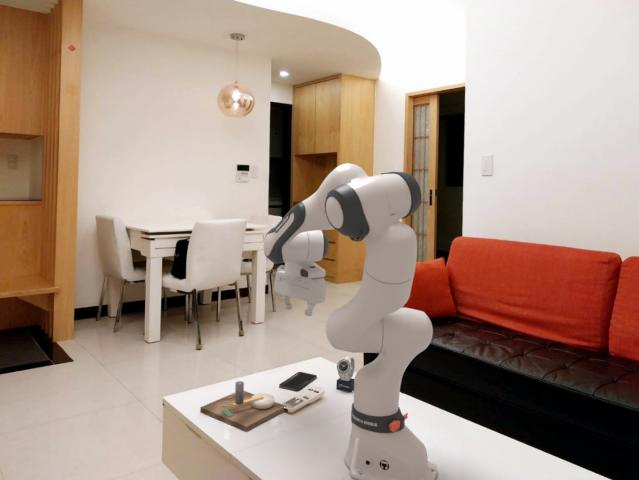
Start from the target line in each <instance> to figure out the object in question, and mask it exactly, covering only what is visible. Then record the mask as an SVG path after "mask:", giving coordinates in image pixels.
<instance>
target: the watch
mask: <svg viewBox="0 0 639 480" xmlns="http://www.w3.org/2000/svg"><path fill="white" fill-rule="evenodd" d="M355 367H356V364H355V358H354V356H353V357H352V356H347V355H345V356H344V357H342V358H341V359H340V360H338V362H337V364H336V370H337V374H338V376H339V378H338V379H336V388H335V390H339V391H342V392H347V393H353V392H354V379H355V378H352V377H353V376H354V372H355ZM352 391H353V392H352Z"/></svg>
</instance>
